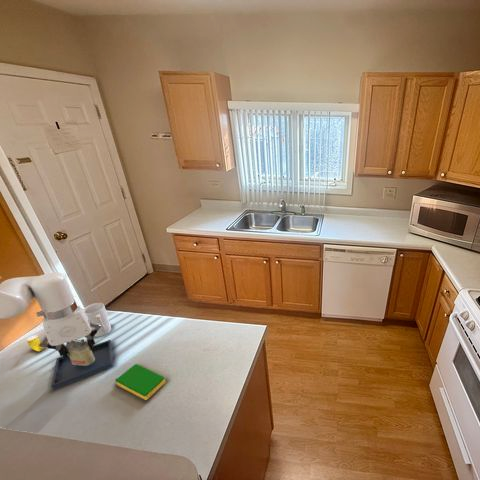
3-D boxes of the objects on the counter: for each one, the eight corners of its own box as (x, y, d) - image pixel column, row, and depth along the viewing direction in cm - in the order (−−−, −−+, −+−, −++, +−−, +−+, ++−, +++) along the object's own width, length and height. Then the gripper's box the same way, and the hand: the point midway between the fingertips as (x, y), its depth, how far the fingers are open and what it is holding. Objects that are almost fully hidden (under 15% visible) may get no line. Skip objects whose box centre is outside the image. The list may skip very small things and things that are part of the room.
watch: (48, 349, 96) (42, 337, 94) (39, 354, 94) (33, 342, 91) (37, 344, 98) (31, 333, 95) (28, 350, 95) (21, 338, 93)
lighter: (69, 365, 89) (59, 343, 85) (79, 356, 92) (70, 335, 88) (89, 366, 89) (80, 345, 85) (98, 357, 92) (90, 336, 88)
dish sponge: (146, 400, 80) (144, 395, 79) (116, 384, 85) (114, 379, 84) (166, 382, 86) (164, 377, 85) (137, 368, 91) (136, 363, 90)
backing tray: (53, 390, 82) (51, 385, 81) (58, 362, 91) (56, 358, 90) (112, 366, 91) (111, 362, 90) (111, 343, 100) (110, 339, 99)
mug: (89, 331, 105) (79, 308, 100) (109, 323, 110) (101, 300, 105) (96, 344, 99) (86, 320, 94) (117, 334, 104) (109, 311, 99)
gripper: (18, 327, 73) (42, 371, 81) (95, 306, 83) (111, 346, 91) (24, 313, 79) (46, 355, 86) (96, 294, 89) (110, 334, 96)
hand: (79, 350), depth 88 cm, fingers closed on lighter, 6 cm apart
